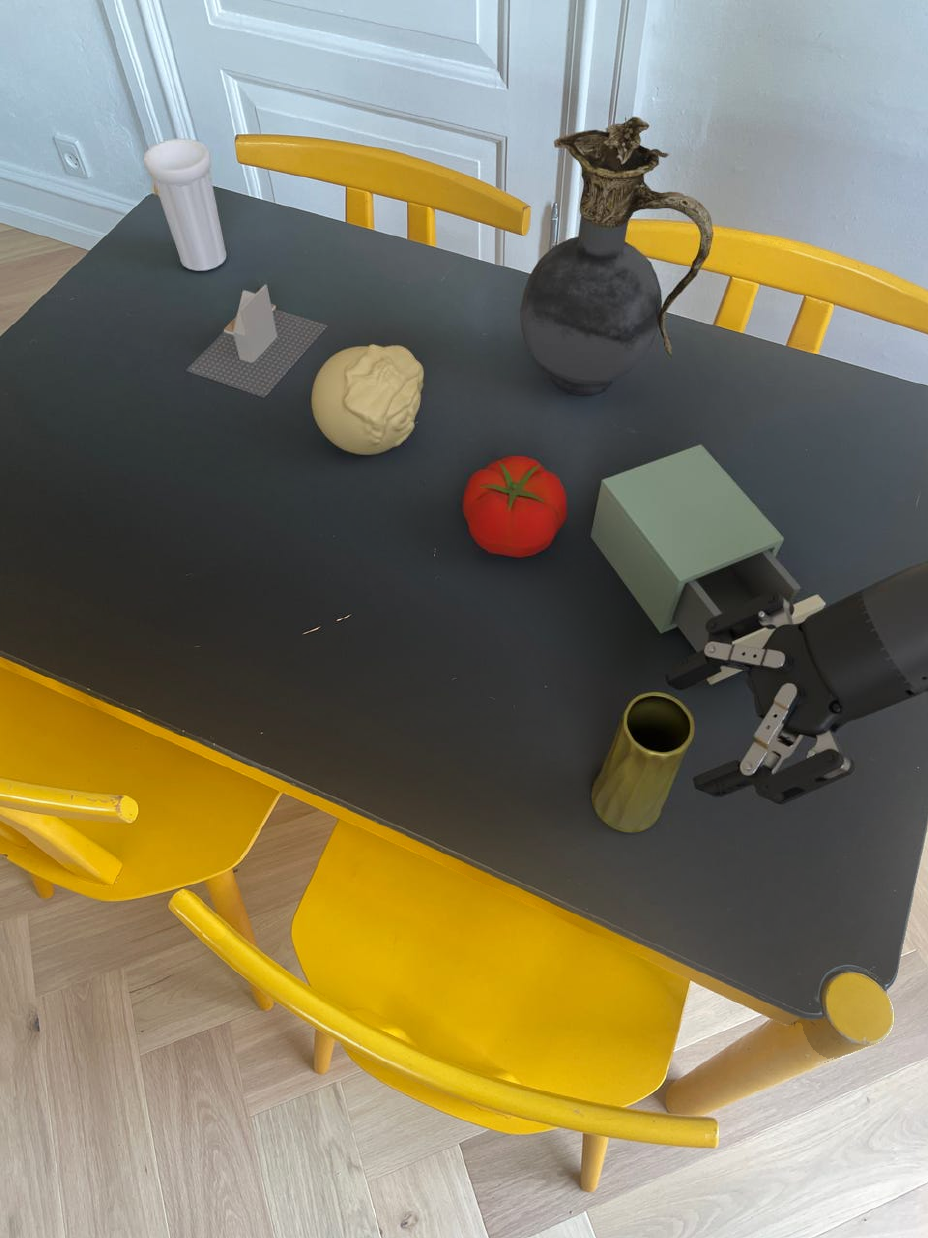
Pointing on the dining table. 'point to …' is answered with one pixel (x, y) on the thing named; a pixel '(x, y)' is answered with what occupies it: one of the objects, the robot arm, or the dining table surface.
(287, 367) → the architectural model
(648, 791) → the vase
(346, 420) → the sculpture
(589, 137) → the pitcher
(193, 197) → the cup
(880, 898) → the dining table surface
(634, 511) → the cabinet
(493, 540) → the tomato
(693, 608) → the drawer
